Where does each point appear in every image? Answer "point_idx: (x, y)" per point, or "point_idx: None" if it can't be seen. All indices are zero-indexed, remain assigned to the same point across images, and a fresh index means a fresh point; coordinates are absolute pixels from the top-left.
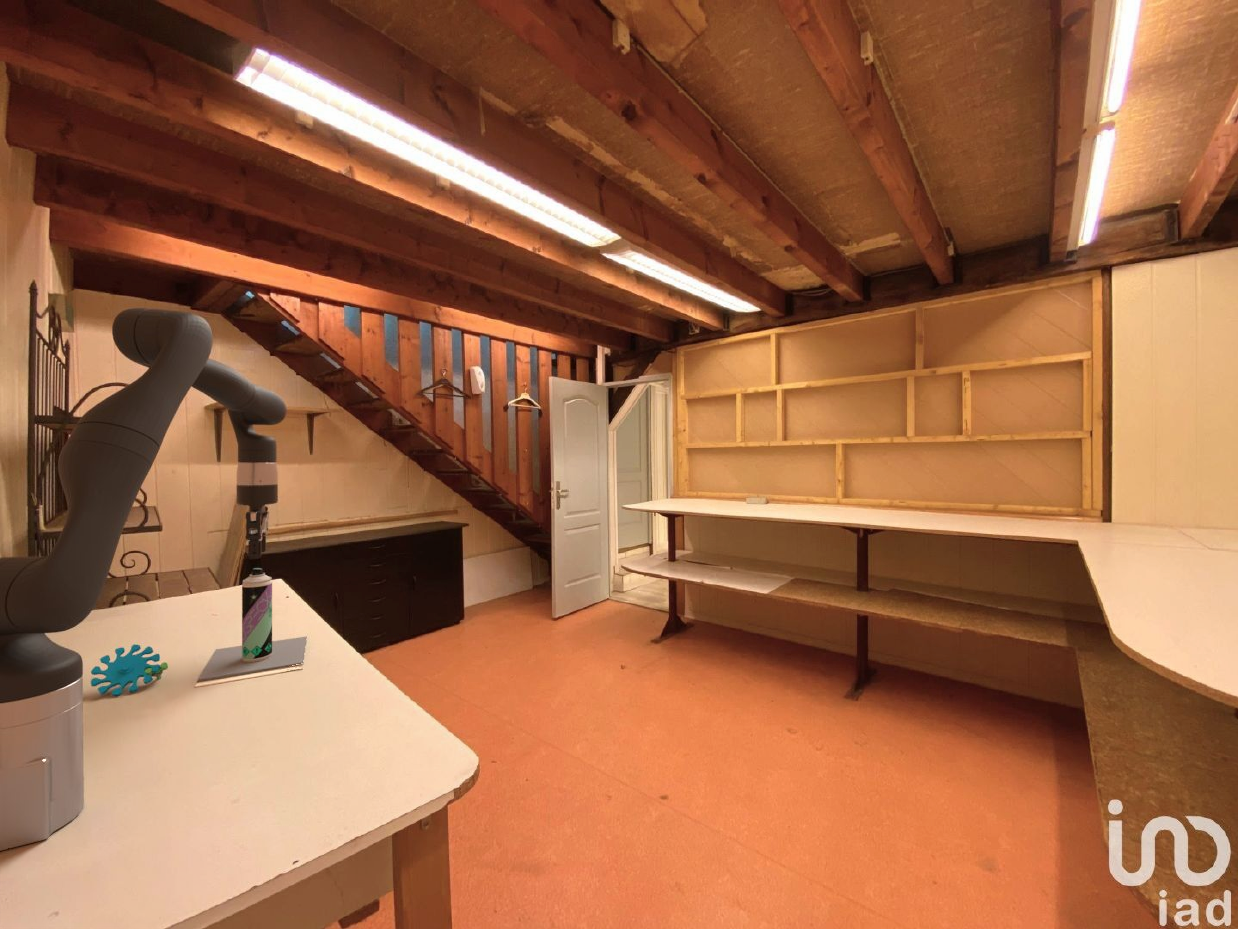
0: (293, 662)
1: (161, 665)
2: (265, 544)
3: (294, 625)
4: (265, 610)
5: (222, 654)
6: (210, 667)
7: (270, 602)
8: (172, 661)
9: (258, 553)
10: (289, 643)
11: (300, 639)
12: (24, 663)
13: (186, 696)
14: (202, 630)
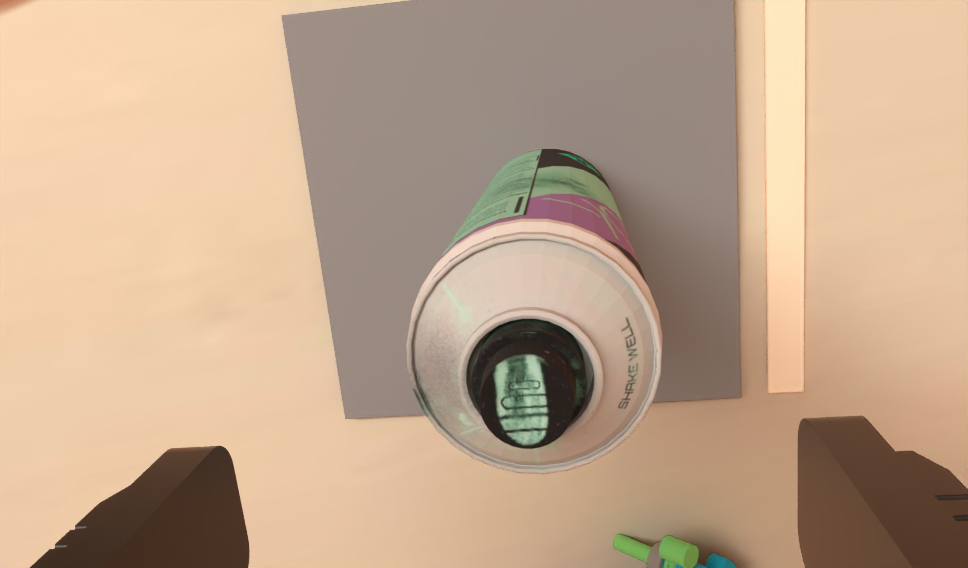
0: (711, 14)
1: (692, 564)
2: (169, 499)
3: (22, 126)
4: (612, 212)
5: None
6: None
7: (573, 194)
8: (417, 545)
9: (923, 475)
10: (377, 91)
11: (326, 42)
12: None
13: (890, 395)
14: (7, 536)
